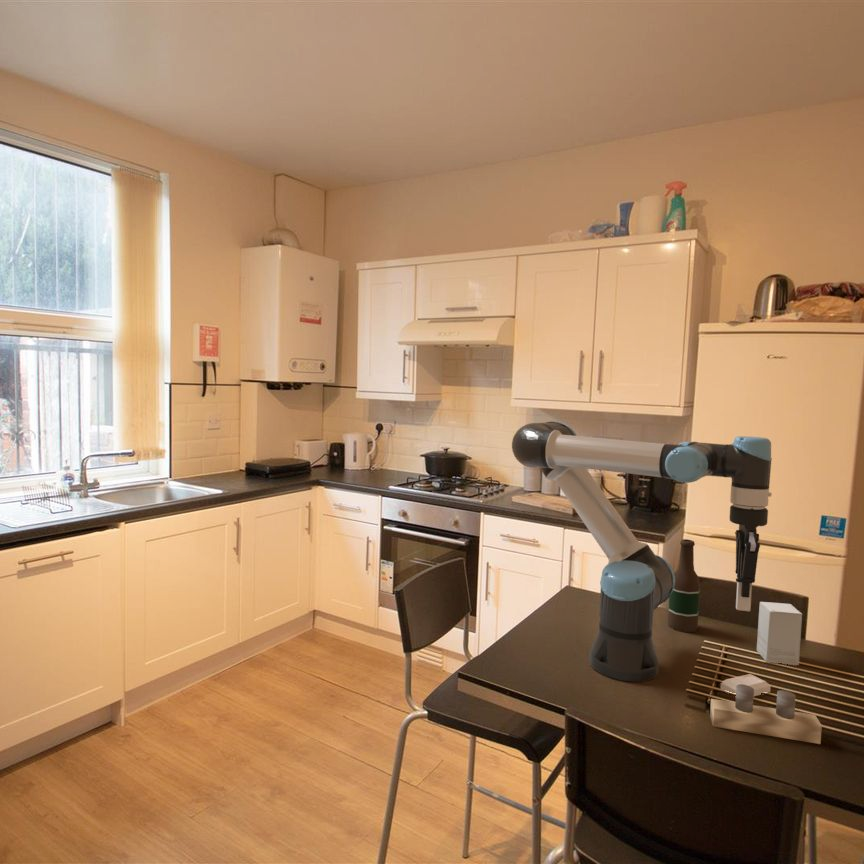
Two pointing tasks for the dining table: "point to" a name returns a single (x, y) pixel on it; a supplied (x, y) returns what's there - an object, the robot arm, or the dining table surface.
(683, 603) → the beer bottle
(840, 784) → the dining table surface
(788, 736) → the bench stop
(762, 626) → the supplement box
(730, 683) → the soap bar
